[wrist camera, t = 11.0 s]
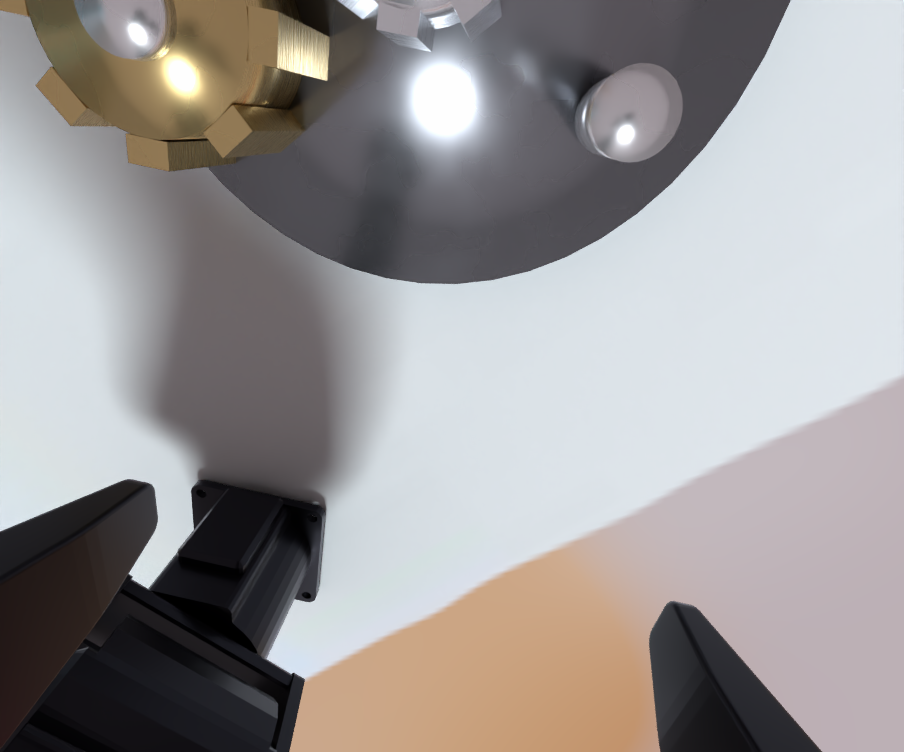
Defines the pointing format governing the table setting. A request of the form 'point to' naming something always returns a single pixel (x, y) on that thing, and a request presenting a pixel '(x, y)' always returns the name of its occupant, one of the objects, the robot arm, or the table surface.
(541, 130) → the carrier
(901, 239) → the table surface
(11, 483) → the table surface
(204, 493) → the robot arm
